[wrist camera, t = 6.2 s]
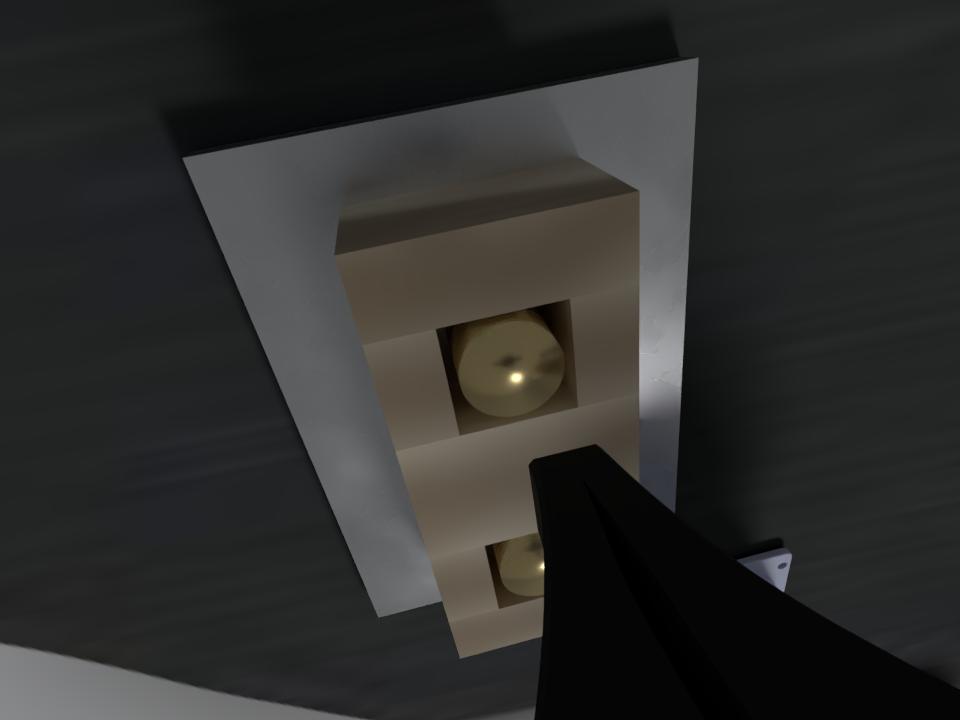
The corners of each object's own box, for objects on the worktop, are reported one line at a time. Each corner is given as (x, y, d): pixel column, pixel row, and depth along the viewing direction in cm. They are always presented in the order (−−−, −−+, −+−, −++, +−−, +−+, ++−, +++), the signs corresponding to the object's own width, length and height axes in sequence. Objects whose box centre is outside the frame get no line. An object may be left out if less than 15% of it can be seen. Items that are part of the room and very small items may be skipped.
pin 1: (533, 341, 18) (568, 403, 15) (451, 360, 18) (469, 427, 15) (524, 263, 17) (560, 313, 14) (434, 282, 16) (450, 338, 13)
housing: (600, 529, 24) (639, 609, 21) (446, 569, 24) (460, 658, 20) (580, 157, 16) (639, 190, 12) (340, 207, 15) (333, 255, 12)
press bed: (663, 523, 26) (673, 540, 26) (378, 598, 25) (378, 617, 24) (680, 56, 16) (698, 57, 15) (192, 151, 15) (182, 158, 14)
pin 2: (553, 509, 22) (583, 584, 19) (486, 526, 22) (506, 604, 19) (547, 458, 21) (579, 530, 18) (476, 475, 21) (495, 552, 18)
